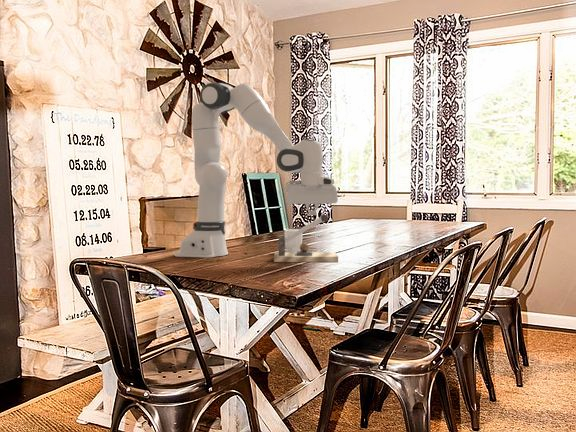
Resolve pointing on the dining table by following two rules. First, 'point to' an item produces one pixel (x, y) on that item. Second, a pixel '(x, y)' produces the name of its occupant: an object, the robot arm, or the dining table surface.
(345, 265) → the dining table surface
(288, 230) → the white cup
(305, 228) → the lever
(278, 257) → the nutcracker base
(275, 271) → the dining table surface
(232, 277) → the dining table surface
